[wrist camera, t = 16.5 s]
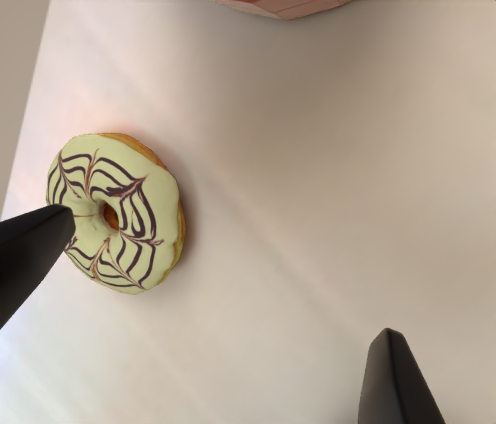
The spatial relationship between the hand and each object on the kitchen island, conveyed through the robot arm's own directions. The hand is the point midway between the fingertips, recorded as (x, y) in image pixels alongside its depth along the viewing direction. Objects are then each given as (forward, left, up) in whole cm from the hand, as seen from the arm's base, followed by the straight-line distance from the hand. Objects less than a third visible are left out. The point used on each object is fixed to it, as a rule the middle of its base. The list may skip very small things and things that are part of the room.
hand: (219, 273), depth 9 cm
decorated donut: (+8, +10, -11) cm, 17 cm away
